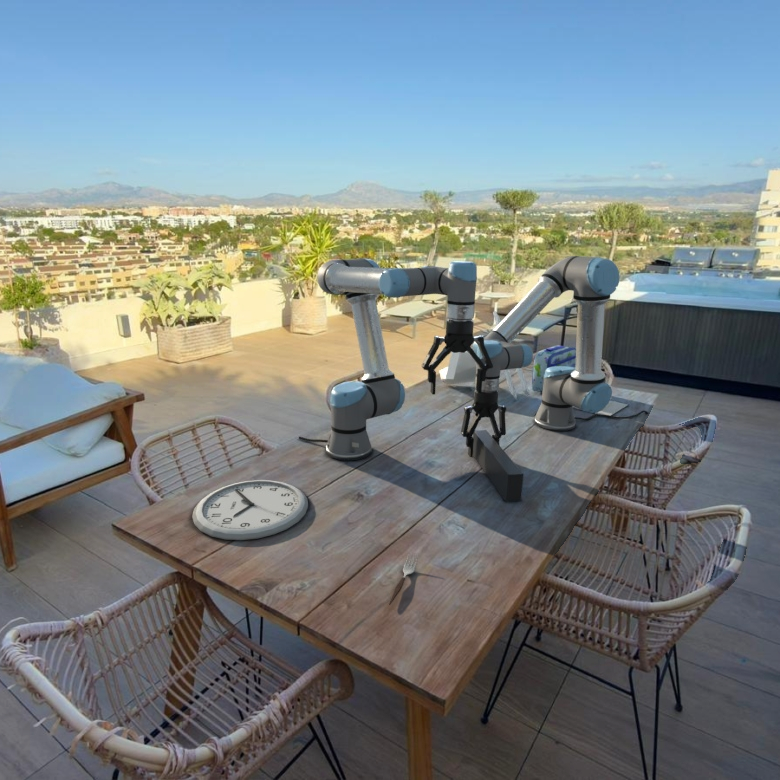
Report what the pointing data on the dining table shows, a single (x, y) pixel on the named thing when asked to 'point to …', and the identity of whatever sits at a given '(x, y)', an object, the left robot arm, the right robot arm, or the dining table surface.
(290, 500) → the wall clock
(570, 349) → the lunch box
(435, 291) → the left robot arm
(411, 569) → the fork
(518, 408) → the dining table surface
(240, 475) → the dining table surface
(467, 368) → the white plastic object
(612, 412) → the invitation card
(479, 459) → the bar
